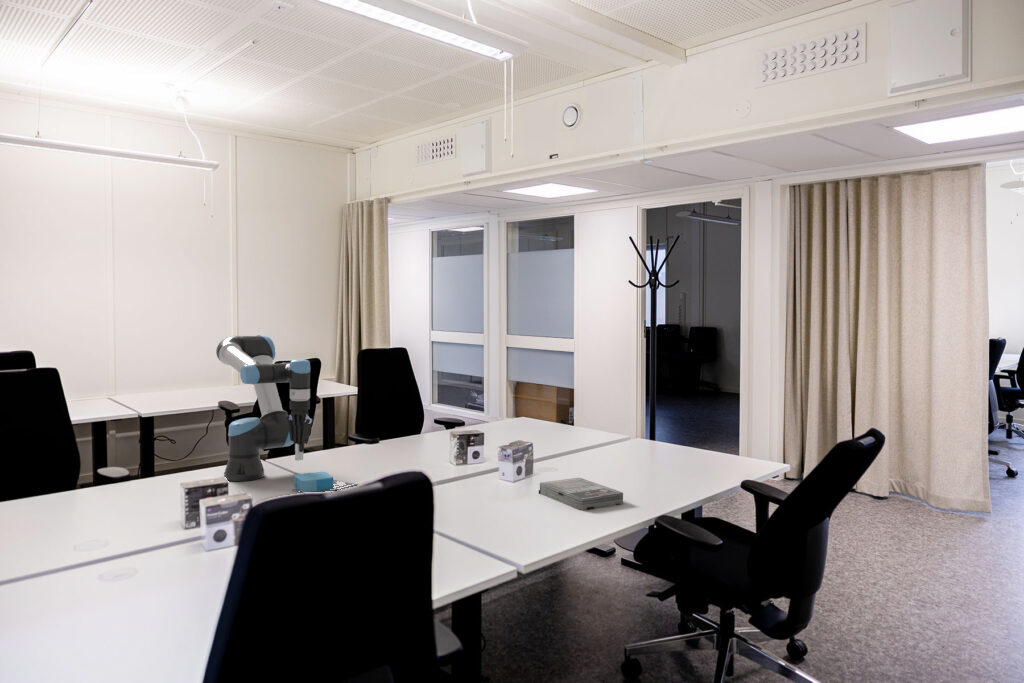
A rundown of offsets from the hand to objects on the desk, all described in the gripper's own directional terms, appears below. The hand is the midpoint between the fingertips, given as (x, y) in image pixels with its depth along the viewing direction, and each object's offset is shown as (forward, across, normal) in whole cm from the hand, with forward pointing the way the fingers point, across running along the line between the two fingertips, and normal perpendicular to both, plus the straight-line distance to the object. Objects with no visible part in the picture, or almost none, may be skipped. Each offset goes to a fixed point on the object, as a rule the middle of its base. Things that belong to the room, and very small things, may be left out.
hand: (299, 459), depth 267 cm
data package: (+6, +7, -1) cm, 9 cm away
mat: (+9, +15, 0) cm, 17 cm away
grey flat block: (+8, +102, +39) cm, 110 cm away
